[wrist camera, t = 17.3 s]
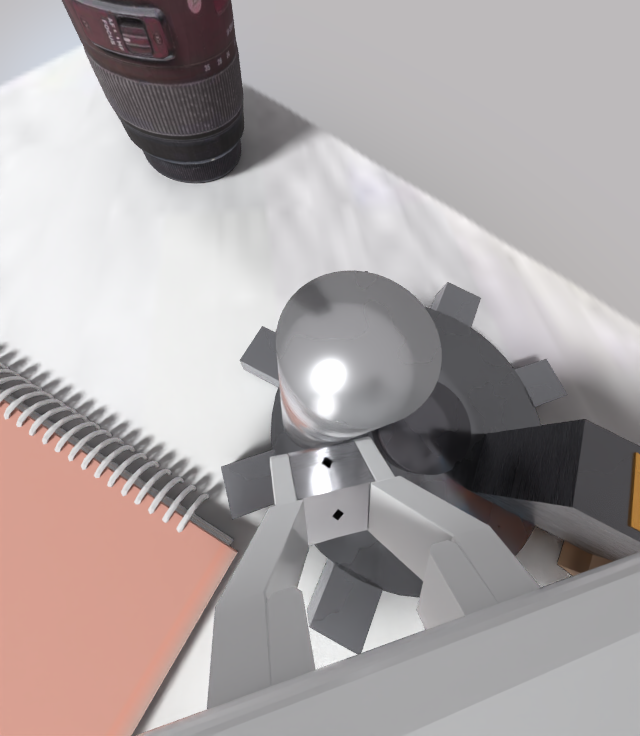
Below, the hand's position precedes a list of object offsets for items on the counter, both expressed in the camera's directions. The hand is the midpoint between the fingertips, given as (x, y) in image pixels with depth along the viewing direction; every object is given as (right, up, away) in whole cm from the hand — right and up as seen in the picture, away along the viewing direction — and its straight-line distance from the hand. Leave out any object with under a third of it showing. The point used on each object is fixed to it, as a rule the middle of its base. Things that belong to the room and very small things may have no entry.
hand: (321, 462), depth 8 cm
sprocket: (+4, -1, +7) cm, 8 cm away
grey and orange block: (+10, -3, +5) cm, 12 cm away
